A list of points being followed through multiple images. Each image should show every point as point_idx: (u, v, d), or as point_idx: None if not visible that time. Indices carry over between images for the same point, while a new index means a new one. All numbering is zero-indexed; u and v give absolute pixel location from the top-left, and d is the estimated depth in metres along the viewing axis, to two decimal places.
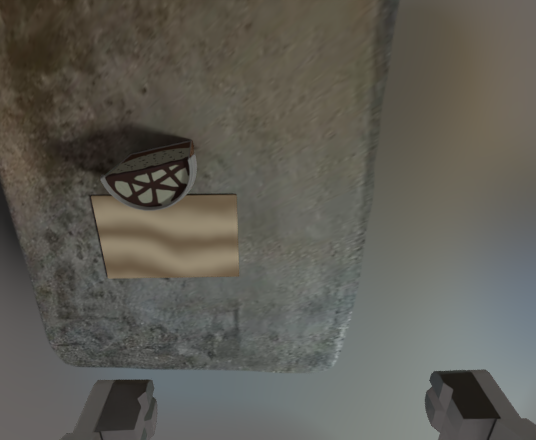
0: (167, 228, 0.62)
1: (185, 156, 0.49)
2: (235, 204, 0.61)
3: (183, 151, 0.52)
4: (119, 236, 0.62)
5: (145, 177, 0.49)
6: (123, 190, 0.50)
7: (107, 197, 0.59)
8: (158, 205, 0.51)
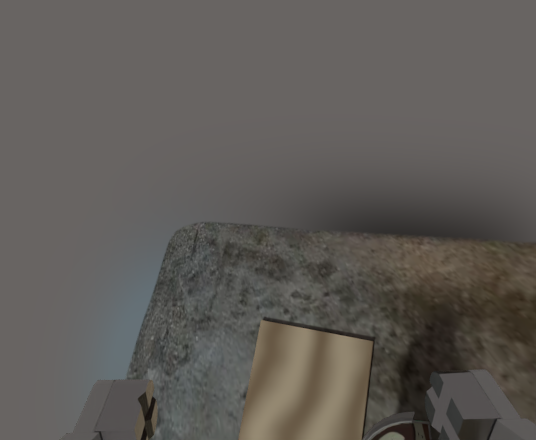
0: (313, 430, 0.45)
1: None
2: None
3: None
4: (313, 357, 0.47)
5: None
6: None
7: (368, 363, 0.44)
8: None
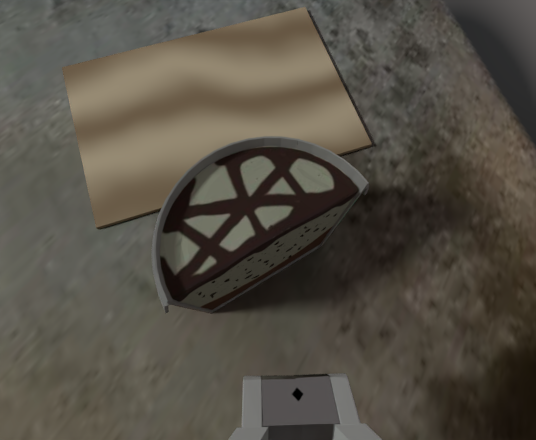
0: (220, 123, 0.32)
1: (188, 298, 0.20)
2: (94, 207, 0.29)
3: (207, 298, 0.22)
4: (304, 85, 0.33)
5: (268, 218, 0.19)
6: (310, 171, 0.21)
7: (342, 150, 0.31)
8: (223, 159, 0.21)
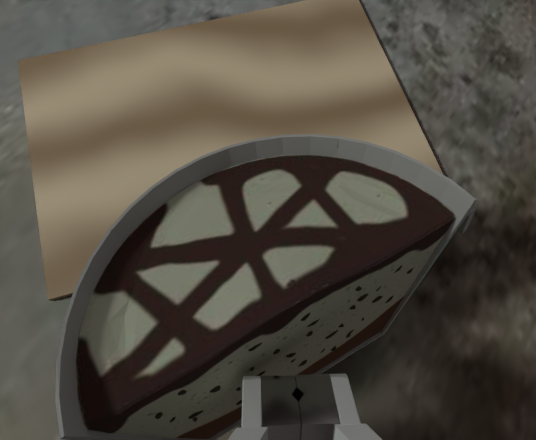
0: None
1: (131, 425, 0.10)
2: (47, 268, 0.20)
3: (185, 422, 0.12)
4: (353, 98, 0.24)
5: (286, 267, 0.10)
6: (363, 190, 0.12)
7: None
8: (215, 176, 0.13)
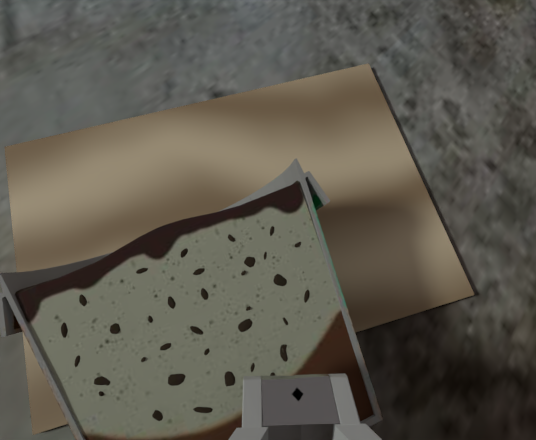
0: None
1: (42, 323, 0.13)
2: (33, 396, 0.18)
3: (91, 391, 0.13)
4: (368, 190, 0.22)
5: None
6: None
7: (429, 304, 0.20)
8: None
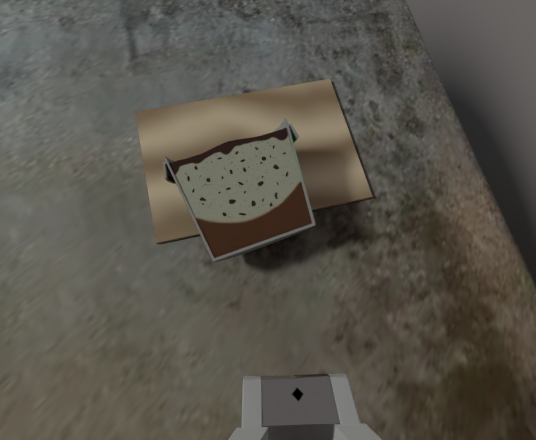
0: None
1: (180, 175, 0.33)
2: (155, 227, 0.38)
3: (198, 202, 0.33)
4: (324, 144, 0.42)
5: None
6: None
7: (349, 199, 0.40)
8: None
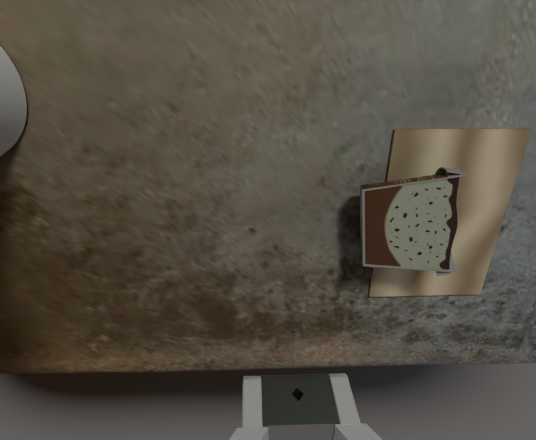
0: None
1: (444, 182, 0.38)
2: (409, 131, 0.42)
3: (414, 190, 0.39)
4: (425, 275, 0.50)
5: None
6: None
7: (373, 281, 0.50)
8: None
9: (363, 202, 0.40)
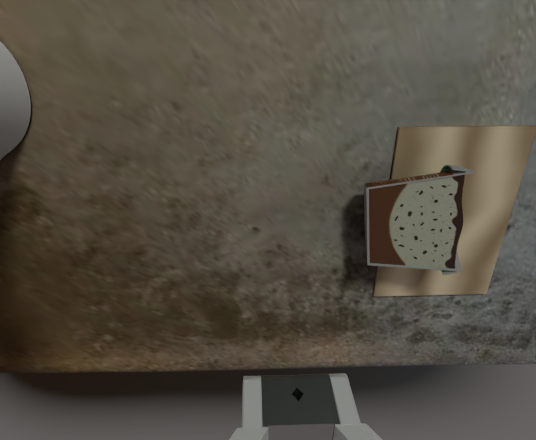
0: None
1: (449, 180, 0.38)
2: (413, 129, 0.41)
3: (419, 188, 0.39)
4: (430, 275, 0.50)
5: None
6: None
7: (377, 281, 0.50)
8: None
9: (367, 200, 0.40)
